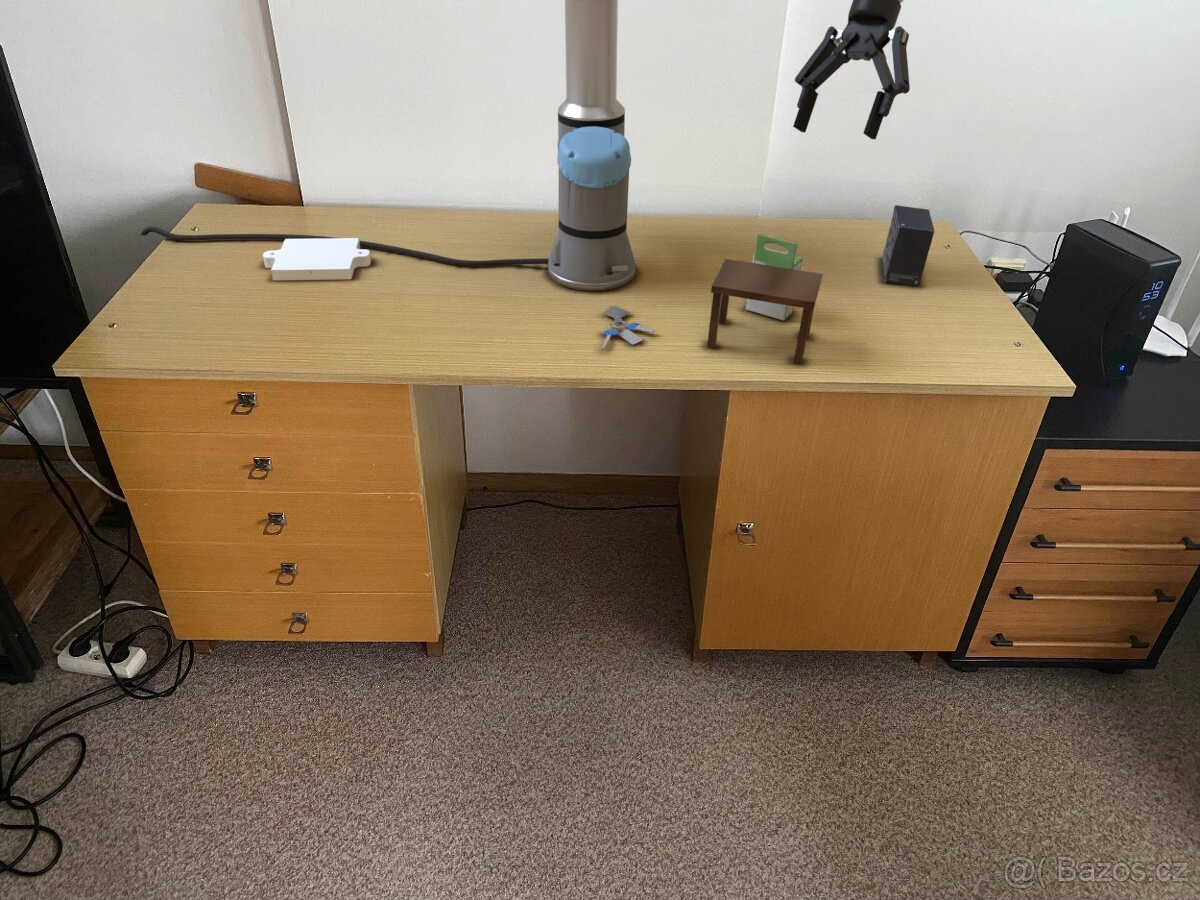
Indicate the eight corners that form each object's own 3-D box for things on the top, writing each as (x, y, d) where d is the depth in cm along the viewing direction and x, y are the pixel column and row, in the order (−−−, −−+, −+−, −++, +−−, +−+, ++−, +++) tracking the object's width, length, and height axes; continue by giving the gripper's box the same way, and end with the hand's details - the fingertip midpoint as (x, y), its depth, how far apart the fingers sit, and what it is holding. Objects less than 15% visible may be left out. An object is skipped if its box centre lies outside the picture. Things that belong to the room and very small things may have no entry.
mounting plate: (257, 280, 149) (255, 270, 148) (273, 249, 159) (271, 239, 158) (366, 279, 150) (364, 268, 149) (374, 247, 161) (373, 237, 160)
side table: (704, 347, 135) (711, 285, 128) (717, 318, 142) (725, 258, 136) (802, 365, 131) (815, 302, 125) (811, 334, 139) (822, 273, 133)
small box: (921, 287, 154) (936, 230, 148) (883, 283, 155) (896, 226, 148) (916, 262, 162) (930, 207, 156) (880, 258, 163) (893, 204, 157)
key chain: (603, 308, 144) (603, 303, 143) (653, 310, 144) (654, 305, 143) (600, 351, 133) (600, 346, 132) (655, 353, 133) (655, 348, 132)
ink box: (793, 312, 145) (807, 235, 137) (784, 322, 142) (797, 244, 134) (754, 301, 148) (766, 225, 140) (744, 310, 145) (755, 233, 137)
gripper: (962, 7, 133) (912, 147, 137) (825, 10, 150) (784, 134, 154) (941, -16, 128) (890, 130, 131) (802, -11, 145) (760, 119, 148)
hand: (833, 133), depth 142 cm, fingers open, 13 cm apart
